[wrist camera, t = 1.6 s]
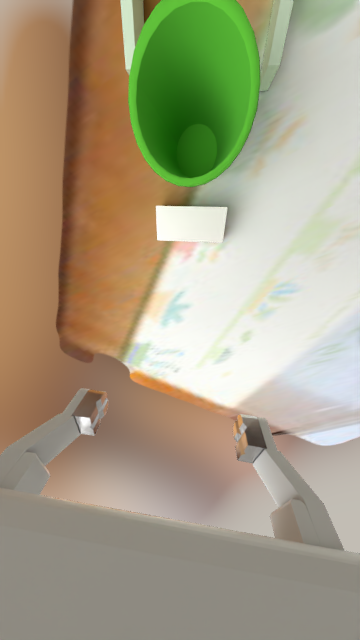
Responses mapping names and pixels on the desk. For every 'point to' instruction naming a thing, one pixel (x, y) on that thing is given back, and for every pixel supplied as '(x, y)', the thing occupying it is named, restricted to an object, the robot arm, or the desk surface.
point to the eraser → (191, 223)
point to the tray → (273, 49)
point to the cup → (194, 88)
